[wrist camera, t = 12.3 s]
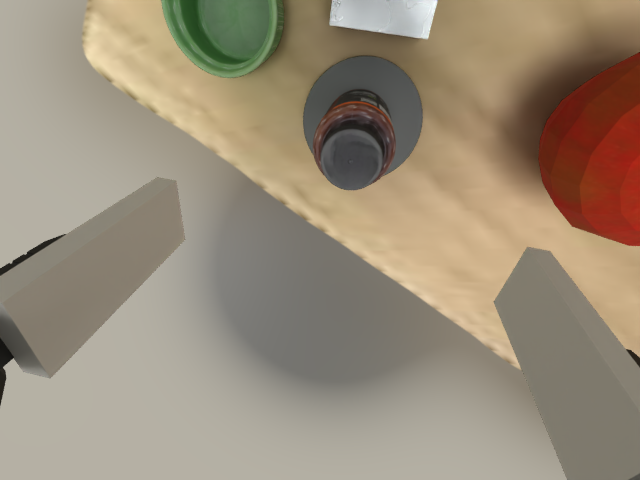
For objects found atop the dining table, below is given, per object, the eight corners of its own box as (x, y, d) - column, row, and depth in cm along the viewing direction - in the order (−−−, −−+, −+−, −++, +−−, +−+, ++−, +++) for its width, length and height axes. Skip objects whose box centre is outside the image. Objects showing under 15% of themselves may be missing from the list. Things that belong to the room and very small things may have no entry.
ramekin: (294, 72, 29) (281, 78, 25) (202, 73, 30) (177, 78, 26) (287, -61, 24) (270, -79, 20) (177, -54, 25) (143, -70, 21)
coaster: (311, 47, 27) (309, 47, 26) (438, 66, 26) (439, 66, 26) (300, 167, 33) (298, 170, 33) (403, 185, 32) (403, 188, 32)
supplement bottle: (334, 159, 31) (315, 210, 22) (320, 96, 28) (291, 123, 19) (395, 148, 30) (403, 197, 20) (387, 79, 27) (391, 100, 17)
